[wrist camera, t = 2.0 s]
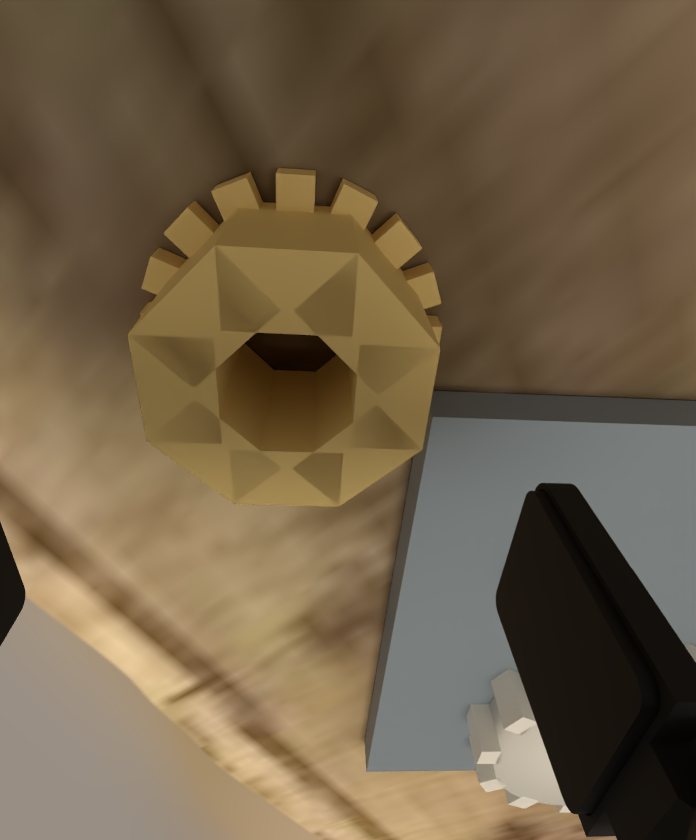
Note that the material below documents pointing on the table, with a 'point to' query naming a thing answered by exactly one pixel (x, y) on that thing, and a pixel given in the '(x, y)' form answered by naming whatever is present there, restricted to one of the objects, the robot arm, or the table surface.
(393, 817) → the table surface
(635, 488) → the gear board
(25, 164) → the table surface
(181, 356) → the gear
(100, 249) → the table surface
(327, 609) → the table surface
